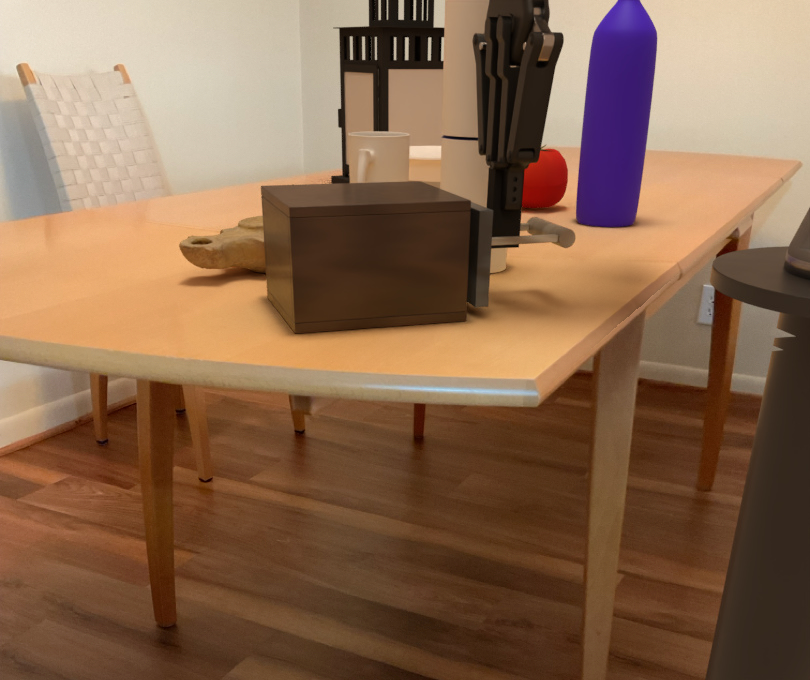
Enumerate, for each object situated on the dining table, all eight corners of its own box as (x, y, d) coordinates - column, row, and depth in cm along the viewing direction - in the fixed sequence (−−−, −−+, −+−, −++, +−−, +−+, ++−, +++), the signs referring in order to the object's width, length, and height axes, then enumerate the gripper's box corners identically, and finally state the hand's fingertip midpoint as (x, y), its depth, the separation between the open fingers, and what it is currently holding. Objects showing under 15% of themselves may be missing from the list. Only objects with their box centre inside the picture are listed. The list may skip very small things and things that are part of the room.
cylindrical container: (434, 272, 94) (441, -13, 82) (441, 258, 100) (449, -8, 88) (504, 275, 93) (521, -12, 81) (507, 261, 99) (523, -8, 87)
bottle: (638, 228, 118) (672, -46, 104) (573, 226, 120) (598, -45, 105) (635, 218, 126) (666, -39, 111) (574, 216, 127) (597, -39, 113)
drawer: (527, 273, 89) (533, 188, 86) (581, 300, 80) (591, 206, 76) (303, 286, 83) (300, 196, 80) (333, 317, 74) (330, 216, 70)
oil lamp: (175, 283, 88) (169, 229, 86) (238, 256, 100) (235, 207, 98) (277, 291, 85) (274, 236, 83) (330, 262, 98) (328, 213, 95)
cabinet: (419, 288, 87) (420, 180, 83) (466, 321, 77) (471, 200, 72) (267, 297, 83) (260, 185, 79) (295, 333, 73) (289, 206, 68)
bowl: (474, 209, 132) (477, 145, 128) (514, 227, 118) (519, 156, 114) (366, 212, 128) (366, 146, 124) (395, 232, 114) (395, 158, 110)
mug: (361, 240, 109) (360, 130, 103) (415, 244, 107) (417, 132, 102) (331, 256, 100) (327, 137, 95) (388, 260, 99) (389, 139, 93)
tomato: (561, 203, 138) (566, 143, 134) (571, 214, 129) (576, 149, 125) (499, 202, 138) (502, 142, 134) (504, 213, 129) (508, 148, 125)
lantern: (331, 183, 156) (324, -61, 140) (418, 177, 164) (422, -54, 147) (378, 195, 143) (377, -72, 127) (471, 189, 151) (481, -64, 134)
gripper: (447, -65, 75) (437, 235, 86) (511, -83, 64) (490, 262, 75) (531, -60, 77) (511, 232, 88) (607, -77, 66) (572, 259, 77)
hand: (501, 246), depth 81 cm, fingers closed
